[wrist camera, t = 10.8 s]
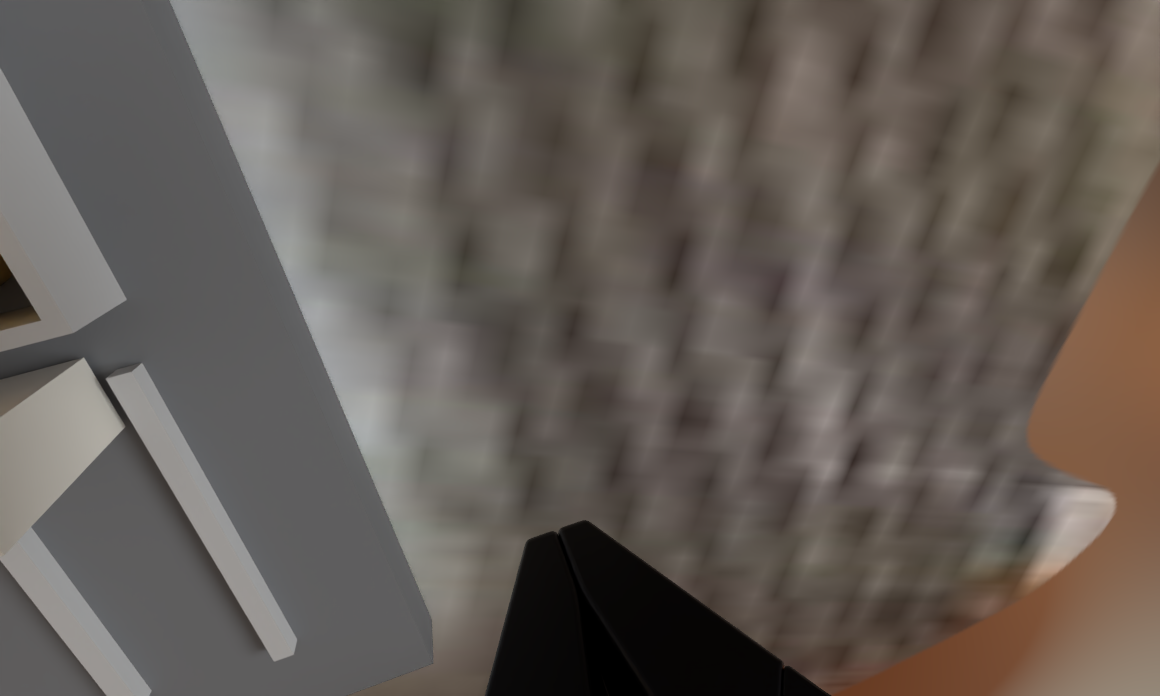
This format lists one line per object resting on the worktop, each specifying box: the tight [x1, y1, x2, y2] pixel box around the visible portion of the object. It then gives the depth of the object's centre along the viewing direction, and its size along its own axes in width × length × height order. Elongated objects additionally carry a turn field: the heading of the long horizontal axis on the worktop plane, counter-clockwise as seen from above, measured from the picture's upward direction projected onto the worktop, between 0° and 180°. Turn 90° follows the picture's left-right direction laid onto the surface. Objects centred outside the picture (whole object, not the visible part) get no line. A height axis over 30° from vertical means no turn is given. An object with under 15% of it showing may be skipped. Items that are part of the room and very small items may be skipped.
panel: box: [0, 0, 433, 696], centre depth 14 cm, size 27×12×4 cm, turn 12°
